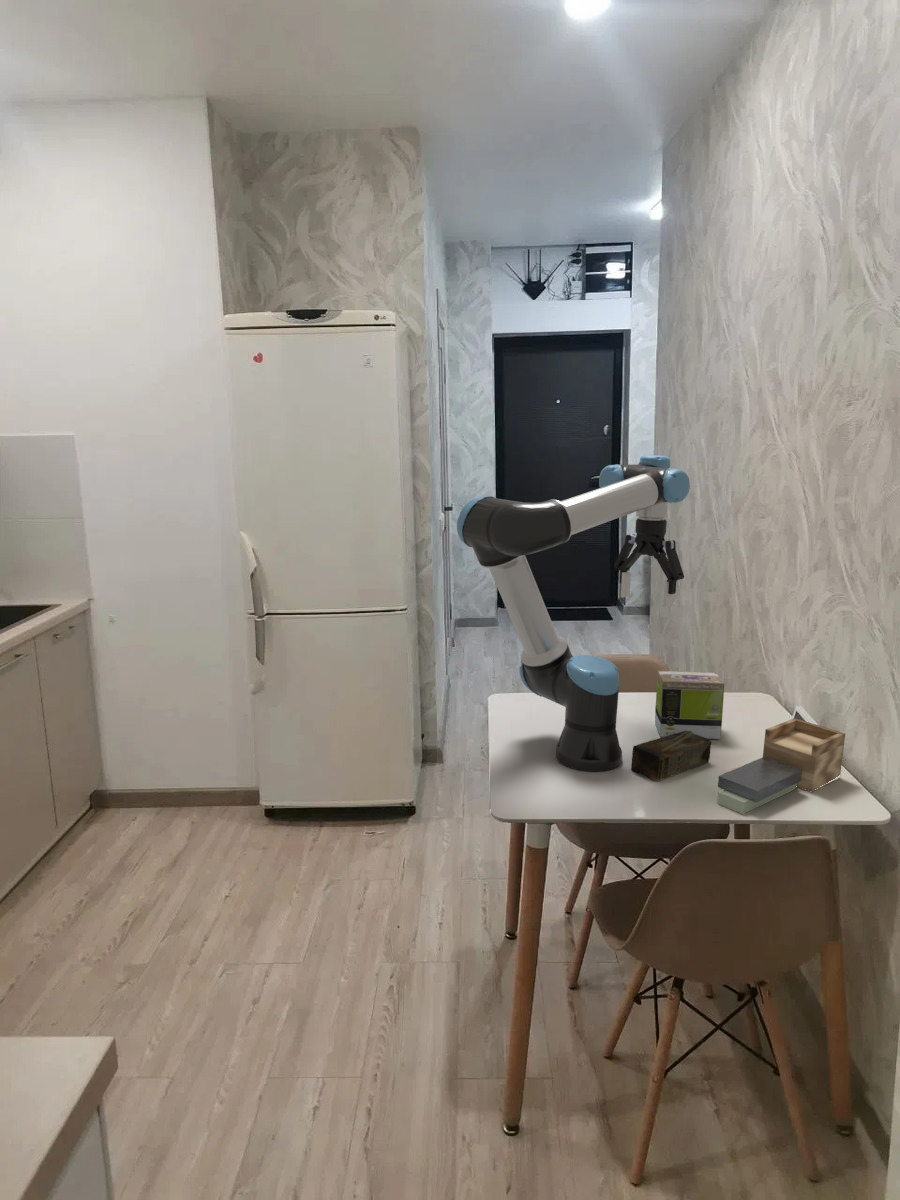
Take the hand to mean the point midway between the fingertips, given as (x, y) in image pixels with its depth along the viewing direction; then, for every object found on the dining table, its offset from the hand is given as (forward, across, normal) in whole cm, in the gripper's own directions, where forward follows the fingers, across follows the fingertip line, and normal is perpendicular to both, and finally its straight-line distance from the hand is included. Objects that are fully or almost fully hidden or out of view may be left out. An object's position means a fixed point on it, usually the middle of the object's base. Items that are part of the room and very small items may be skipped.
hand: (645, 601), depth 218 cm
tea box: (+32, -13, -3) cm, 35 cm away
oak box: (+32, -45, -1) cm, 55 cm away
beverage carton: (+32, -24, +18) cm, 44 cm away
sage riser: (+32, -45, +16) cm, 57 cm away
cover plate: (+29, -45, +16) cm, 56 cm away
